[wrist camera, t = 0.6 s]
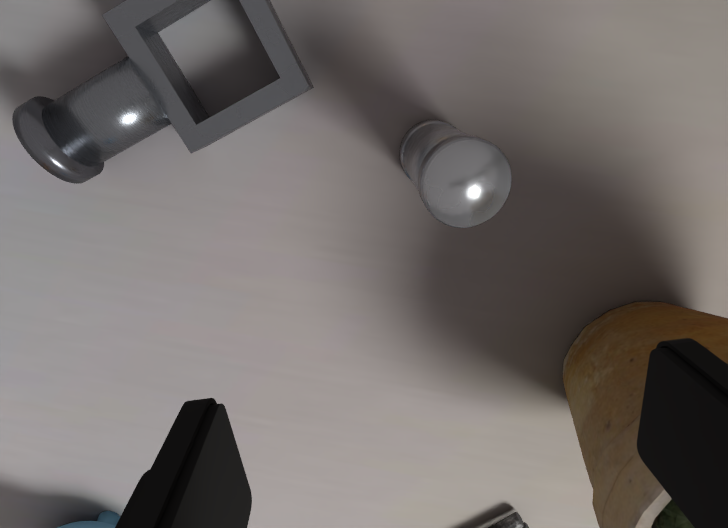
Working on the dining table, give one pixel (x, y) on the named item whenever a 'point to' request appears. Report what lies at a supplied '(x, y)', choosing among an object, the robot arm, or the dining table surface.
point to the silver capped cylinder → (455, 173)
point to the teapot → (104, 523)
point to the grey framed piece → (148, 94)
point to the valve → (511, 522)
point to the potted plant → (627, 405)
